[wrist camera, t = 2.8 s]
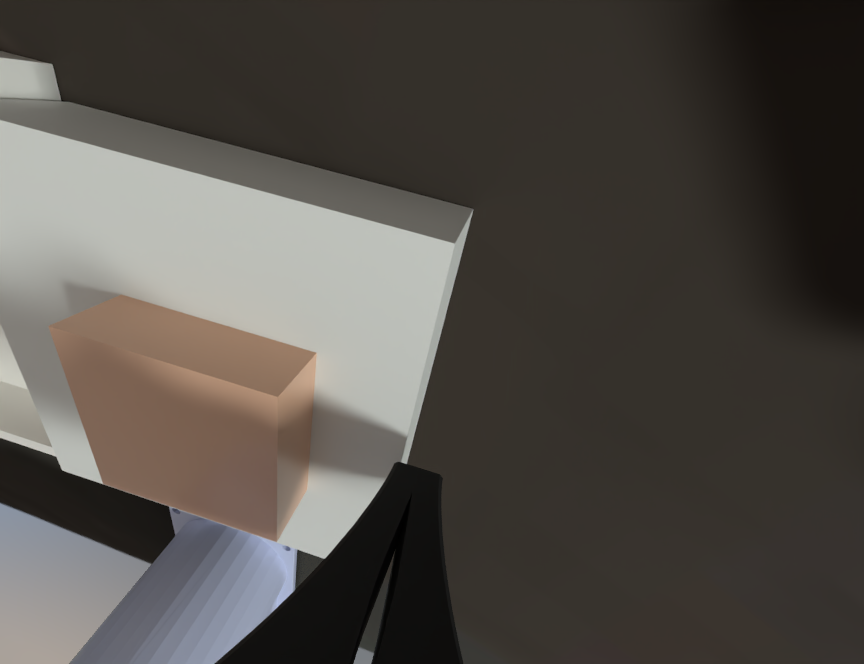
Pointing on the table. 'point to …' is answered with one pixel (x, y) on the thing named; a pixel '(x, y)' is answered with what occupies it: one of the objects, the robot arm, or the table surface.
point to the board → (229, 278)
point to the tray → (3, 382)
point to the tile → (192, 411)
